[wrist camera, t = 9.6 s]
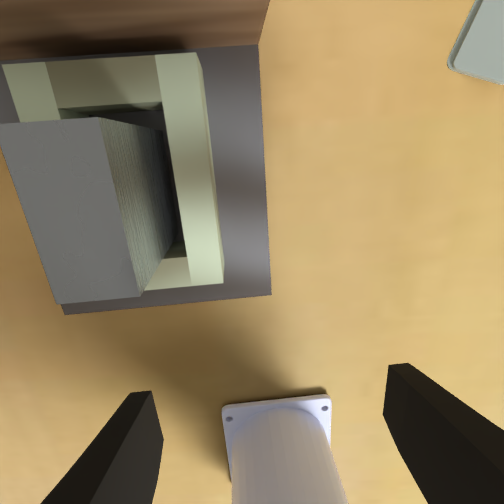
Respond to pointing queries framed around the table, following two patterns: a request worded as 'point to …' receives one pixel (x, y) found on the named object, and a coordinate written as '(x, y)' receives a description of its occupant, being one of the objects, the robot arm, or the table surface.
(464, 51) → the metal bracket
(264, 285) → the gray base with frame
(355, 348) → the table surface
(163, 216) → the thick gray slab
